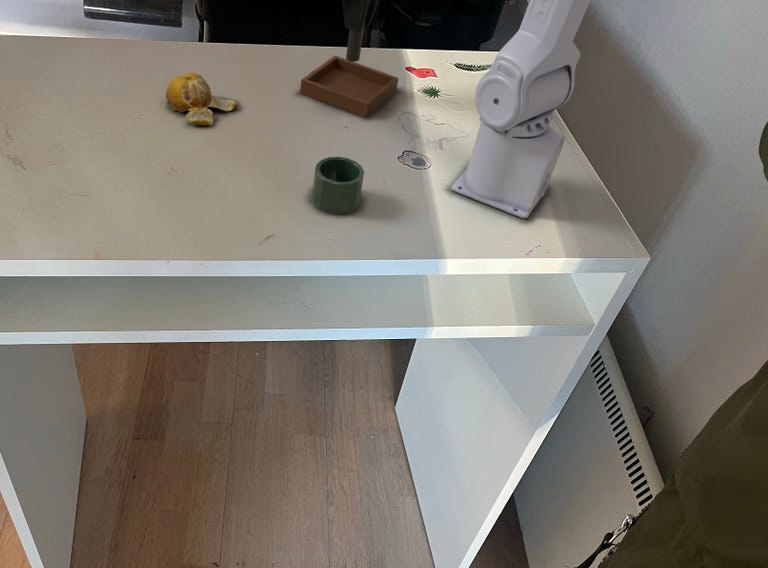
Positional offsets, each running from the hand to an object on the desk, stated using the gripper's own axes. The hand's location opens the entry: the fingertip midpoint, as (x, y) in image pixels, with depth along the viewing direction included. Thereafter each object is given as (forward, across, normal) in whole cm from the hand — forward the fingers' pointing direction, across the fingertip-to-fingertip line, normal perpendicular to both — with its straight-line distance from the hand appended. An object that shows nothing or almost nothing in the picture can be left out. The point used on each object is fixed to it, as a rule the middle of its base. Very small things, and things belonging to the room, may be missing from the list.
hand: (357, 25), depth 97 cm
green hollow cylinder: (+9, +23, +11) cm, 27 cm away
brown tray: (+9, 0, 0) cm, 9 cm away
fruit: (+9, +17, -13) cm, 23 cm away
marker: (+4, 0, 0) cm, 4 cm away
